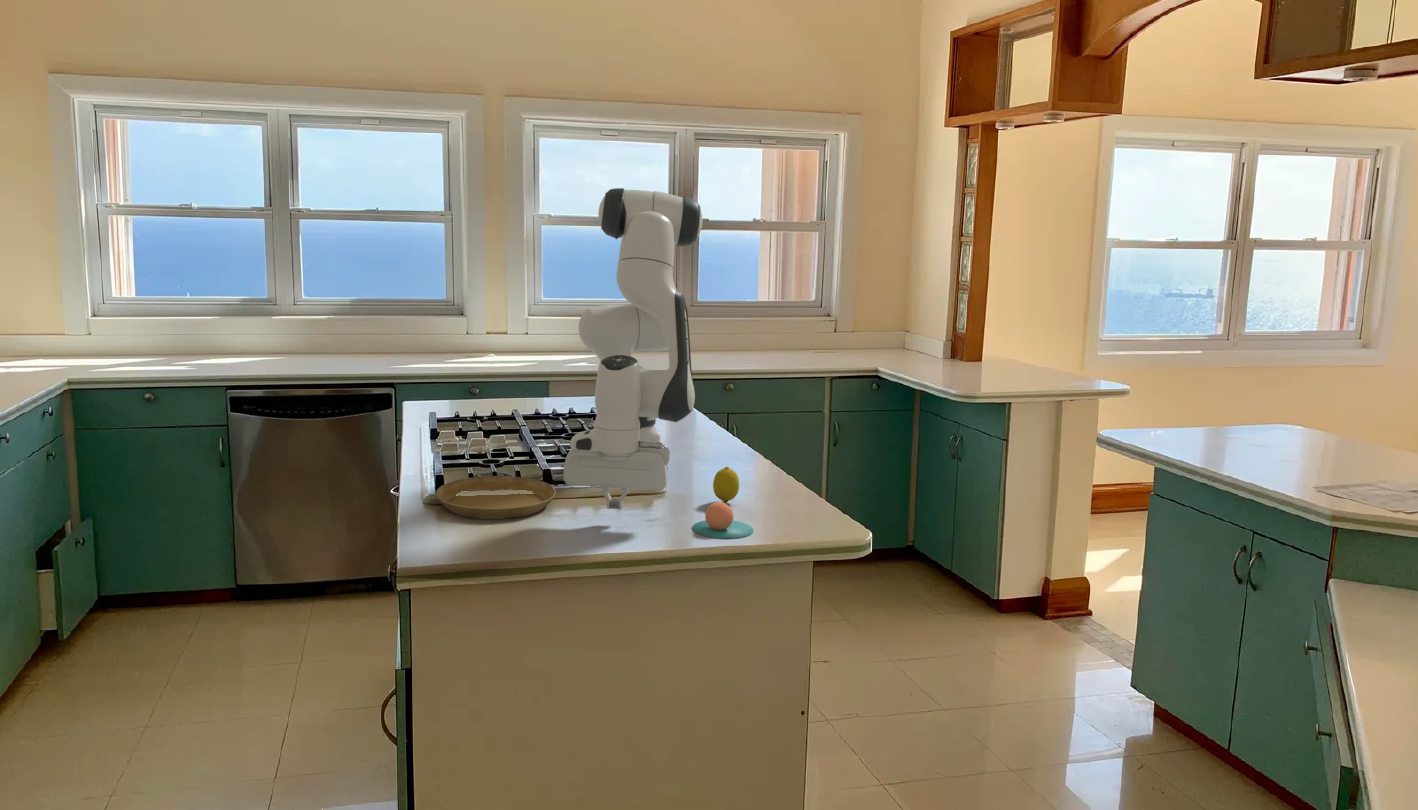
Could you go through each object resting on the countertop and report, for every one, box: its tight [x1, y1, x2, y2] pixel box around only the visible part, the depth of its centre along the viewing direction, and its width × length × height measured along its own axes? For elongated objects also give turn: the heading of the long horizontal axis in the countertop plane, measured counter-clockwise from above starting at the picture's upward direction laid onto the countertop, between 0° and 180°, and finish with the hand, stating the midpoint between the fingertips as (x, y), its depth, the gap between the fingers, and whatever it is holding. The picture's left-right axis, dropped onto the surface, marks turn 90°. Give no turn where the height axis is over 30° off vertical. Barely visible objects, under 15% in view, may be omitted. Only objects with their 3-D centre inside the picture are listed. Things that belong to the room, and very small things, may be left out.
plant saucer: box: [435, 475, 557, 520], centre depth 211 cm, size 24×24×3 cm
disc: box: [692, 519, 754, 539], centre depth 201 cm, size 12×12×1 cm
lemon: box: [712, 466, 740, 504], centre depth 219 cm, size 6×6×8 cm
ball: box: [704, 501, 734, 530], centre depth 200 cm, size 6×6×6 cm
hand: (614, 508), depth 202 cm, fingers closed
